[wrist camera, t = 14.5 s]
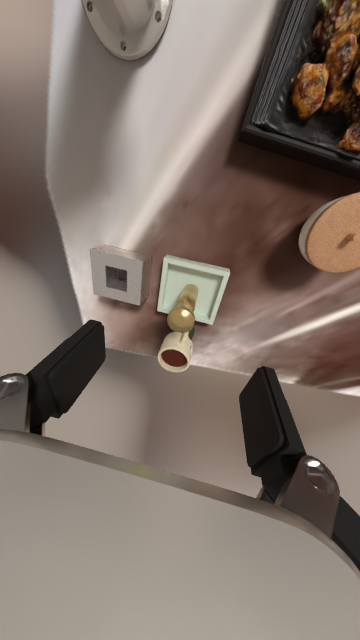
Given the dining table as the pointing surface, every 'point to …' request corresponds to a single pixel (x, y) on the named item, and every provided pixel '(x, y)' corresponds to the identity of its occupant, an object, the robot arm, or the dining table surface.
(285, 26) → the food platter
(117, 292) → the white square-hole block
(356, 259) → the lidded jar
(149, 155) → the dining table surface
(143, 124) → the dining table surface
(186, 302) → the pin
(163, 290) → the tray
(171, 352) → the character mug
